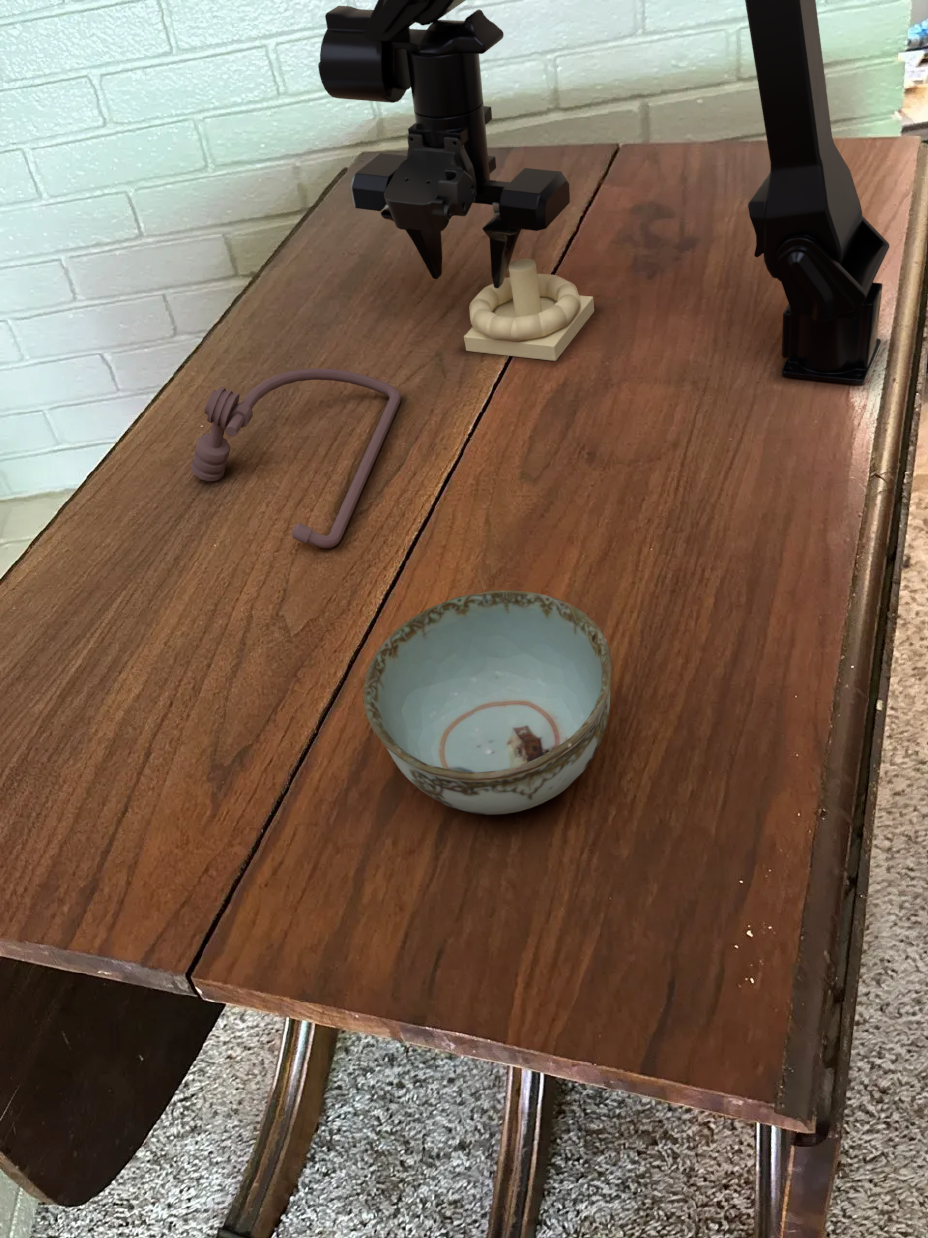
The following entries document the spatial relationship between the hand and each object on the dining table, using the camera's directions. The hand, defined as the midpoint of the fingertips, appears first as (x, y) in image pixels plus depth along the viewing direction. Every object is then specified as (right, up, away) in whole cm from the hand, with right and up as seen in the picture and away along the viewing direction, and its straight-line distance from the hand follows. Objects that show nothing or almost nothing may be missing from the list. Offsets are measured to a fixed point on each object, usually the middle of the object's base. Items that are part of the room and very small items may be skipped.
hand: (467, 281), depth 99 cm
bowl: (+2, -40, -36) cm, 54 cm away
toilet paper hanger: (-15, -19, -10) cm, 26 cm away
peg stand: (+6, -4, +1) cm, 7 cm away
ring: (+5, -3, -1) cm, 6 cm away
